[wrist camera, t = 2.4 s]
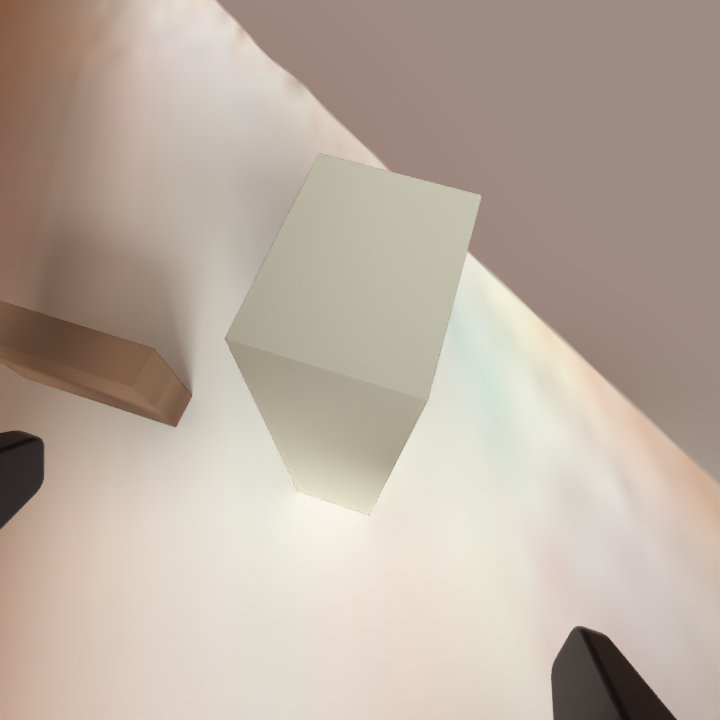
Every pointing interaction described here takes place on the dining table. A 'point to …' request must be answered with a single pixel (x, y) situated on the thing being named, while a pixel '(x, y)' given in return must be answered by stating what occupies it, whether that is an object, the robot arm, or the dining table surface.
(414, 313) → the sage plank
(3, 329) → the walnut slotted plate
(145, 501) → the dining table surface
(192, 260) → the dining table surface
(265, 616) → the dining table surface
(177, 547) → the dining table surface
